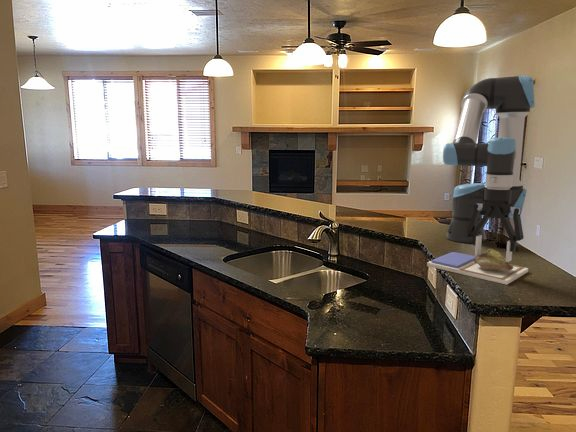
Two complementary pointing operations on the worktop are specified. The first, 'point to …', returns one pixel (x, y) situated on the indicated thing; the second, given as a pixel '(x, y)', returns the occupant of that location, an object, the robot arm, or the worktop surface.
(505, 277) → the board
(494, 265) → the rock
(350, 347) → the worktop surface
